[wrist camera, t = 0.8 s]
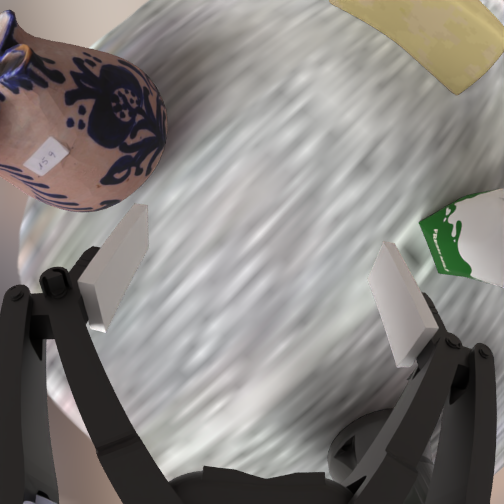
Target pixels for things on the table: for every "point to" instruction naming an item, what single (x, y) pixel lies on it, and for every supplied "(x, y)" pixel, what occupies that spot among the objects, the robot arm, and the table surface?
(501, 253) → the milk carton
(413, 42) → the cheese
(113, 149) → the ceramic pitcher
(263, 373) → the table surface
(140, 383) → the table surface
